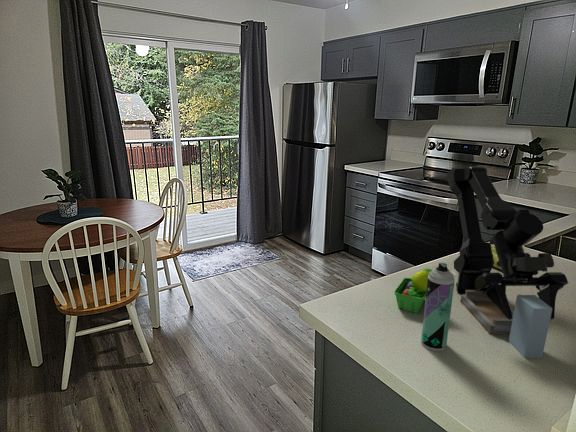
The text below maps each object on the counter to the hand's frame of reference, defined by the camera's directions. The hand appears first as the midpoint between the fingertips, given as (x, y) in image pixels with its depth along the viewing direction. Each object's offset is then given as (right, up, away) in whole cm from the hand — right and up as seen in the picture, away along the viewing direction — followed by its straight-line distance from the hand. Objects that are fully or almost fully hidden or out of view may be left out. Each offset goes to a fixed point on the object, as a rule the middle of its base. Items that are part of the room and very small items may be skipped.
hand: (531, 319), depth 85 cm
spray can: (-20, -7, +4) cm, 22 cm away
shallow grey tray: (0, -4, +16) cm, 16 cm away
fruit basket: (-19, -2, +22) cm, 29 cm away
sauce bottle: (+21, +6, +39) cm, 45 cm away
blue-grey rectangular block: (0, -7, +2) cm, 8 cm away
